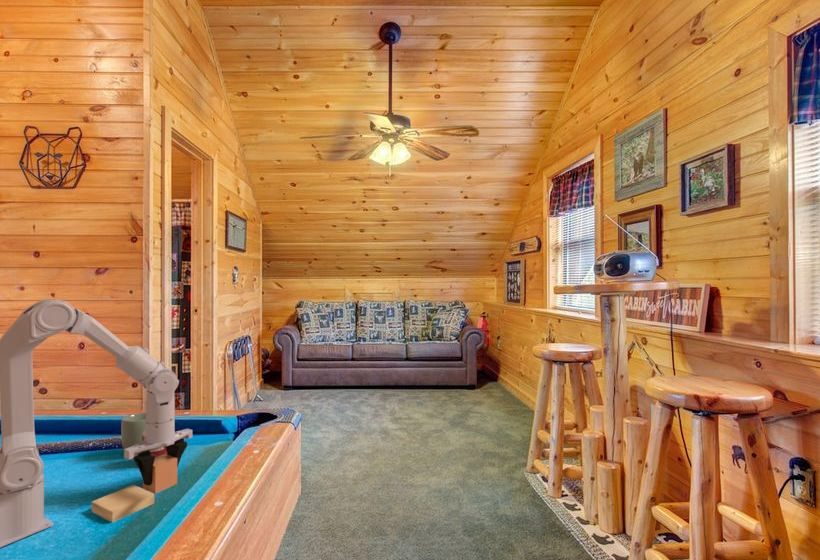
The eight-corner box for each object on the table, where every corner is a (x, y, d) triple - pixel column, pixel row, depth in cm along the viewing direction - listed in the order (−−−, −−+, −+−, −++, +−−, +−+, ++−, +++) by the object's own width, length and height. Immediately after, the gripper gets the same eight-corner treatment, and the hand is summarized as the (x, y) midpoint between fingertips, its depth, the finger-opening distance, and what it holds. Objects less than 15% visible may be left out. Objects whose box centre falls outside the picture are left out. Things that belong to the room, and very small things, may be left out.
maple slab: (112, 524, 80) (112, 512, 80) (91, 513, 84) (91, 501, 84) (154, 505, 87) (154, 493, 87) (133, 496, 91) (133, 484, 91)
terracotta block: (155, 493, 91) (155, 466, 91) (142, 488, 93) (142, 461, 94) (177, 483, 96) (177, 458, 96) (164, 478, 98) (164, 453, 98)
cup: (114, 456, 110) (114, 419, 110) (141, 445, 118) (141, 411, 118) (136, 460, 108) (136, 422, 108) (162, 448, 116) (162, 413, 116)
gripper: (136, 432, 86) (136, 497, 86) (200, 413, 99) (200, 469, 99) (118, 427, 90) (118, 489, 90) (182, 409, 102) (182, 463, 102)
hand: (160, 478), depth 95 cm, fingers closed on terracotta block, 5 cm apart
